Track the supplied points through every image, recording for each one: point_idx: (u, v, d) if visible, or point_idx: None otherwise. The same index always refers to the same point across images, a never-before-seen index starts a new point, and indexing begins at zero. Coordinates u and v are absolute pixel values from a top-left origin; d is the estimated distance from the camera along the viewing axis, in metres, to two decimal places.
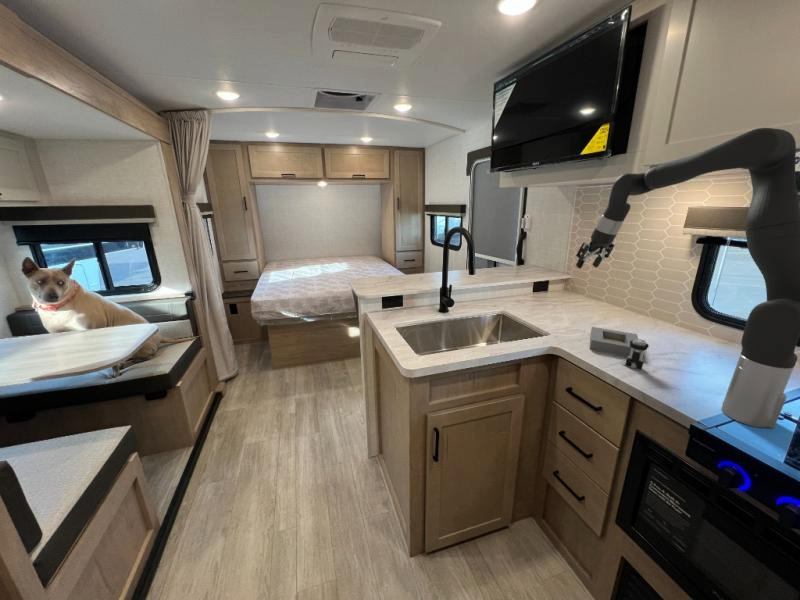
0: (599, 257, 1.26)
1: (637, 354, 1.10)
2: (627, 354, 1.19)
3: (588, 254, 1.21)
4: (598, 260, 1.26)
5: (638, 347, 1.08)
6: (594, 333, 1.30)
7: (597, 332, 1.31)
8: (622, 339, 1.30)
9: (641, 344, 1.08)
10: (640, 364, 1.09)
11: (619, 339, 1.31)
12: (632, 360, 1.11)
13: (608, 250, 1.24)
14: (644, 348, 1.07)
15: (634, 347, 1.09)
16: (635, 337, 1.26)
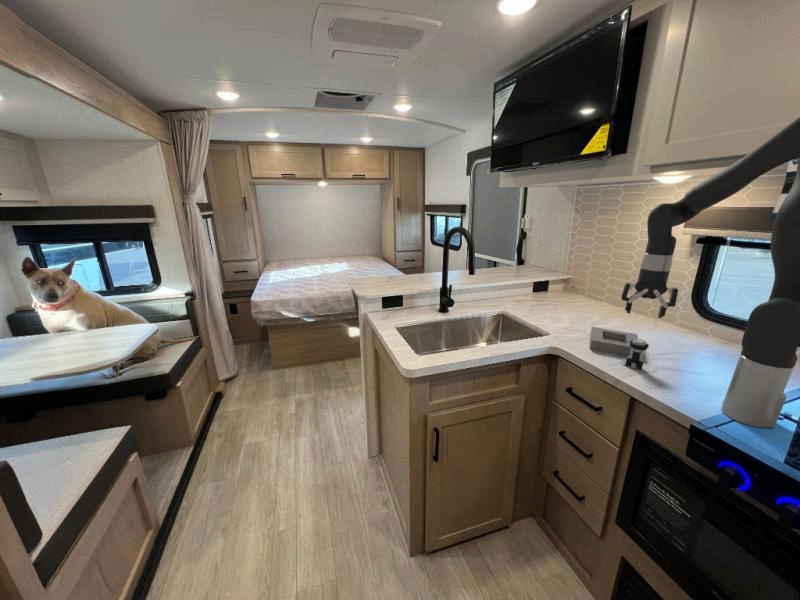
0: (662, 305, 1.04)
1: (637, 354, 1.10)
2: (627, 354, 1.19)
3: (634, 296, 1.06)
4: (660, 309, 1.04)
5: (638, 347, 1.08)
6: (594, 333, 1.30)
7: (597, 332, 1.31)
8: (622, 339, 1.30)
9: (641, 344, 1.08)
10: (640, 364, 1.09)
11: (619, 339, 1.31)
12: (632, 360, 1.11)
13: (671, 296, 1.01)
14: (644, 348, 1.07)
15: (634, 347, 1.09)
16: (635, 337, 1.26)
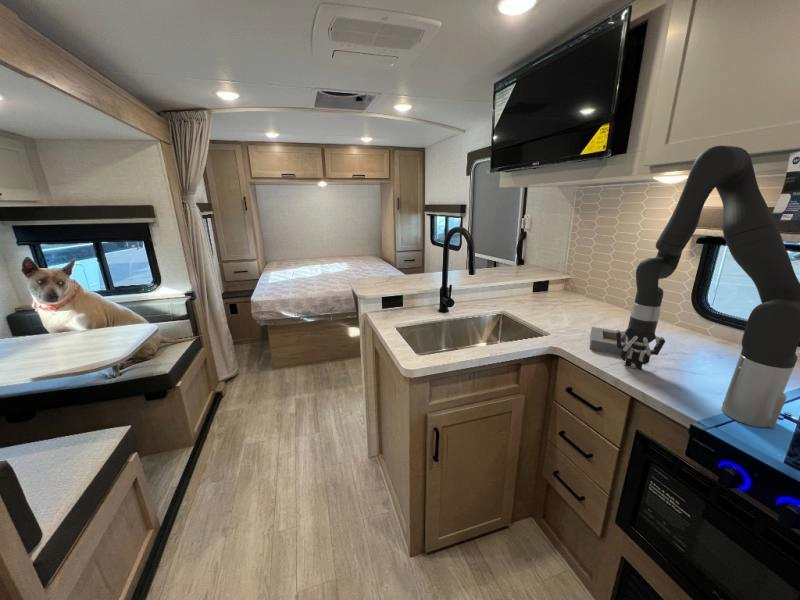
0: None
1: (637, 354, 1.10)
2: (627, 354, 1.19)
3: (627, 343, 1.10)
4: (644, 356, 1.09)
5: (638, 347, 1.08)
6: (594, 333, 1.30)
7: (597, 332, 1.31)
8: (622, 339, 1.30)
9: (641, 344, 1.08)
10: (640, 364, 1.09)
11: None
12: (632, 360, 1.11)
13: (657, 345, 1.06)
14: (644, 348, 1.07)
15: (634, 347, 1.09)
16: None
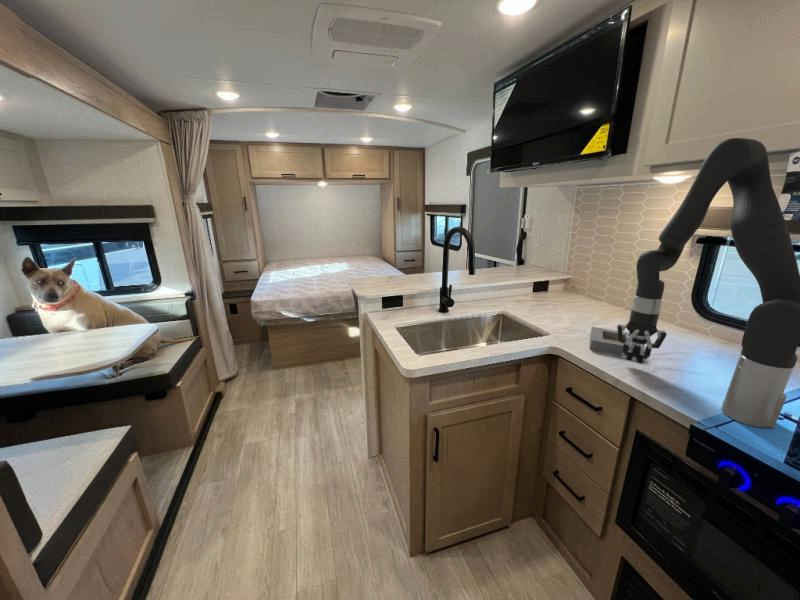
0: (647, 346, 1.08)
1: (637, 348, 1.09)
2: None
3: (628, 337, 1.10)
4: (645, 349, 1.08)
5: (638, 341, 1.07)
6: (594, 333, 1.30)
7: (597, 332, 1.31)
8: None
9: (641, 338, 1.07)
10: (641, 358, 1.09)
11: None
12: (633, 354, 1.10)
13: (658, 339, 1.06)
14: (644, 342, 1.07)
15: (634, 341, 1.08)
16: None
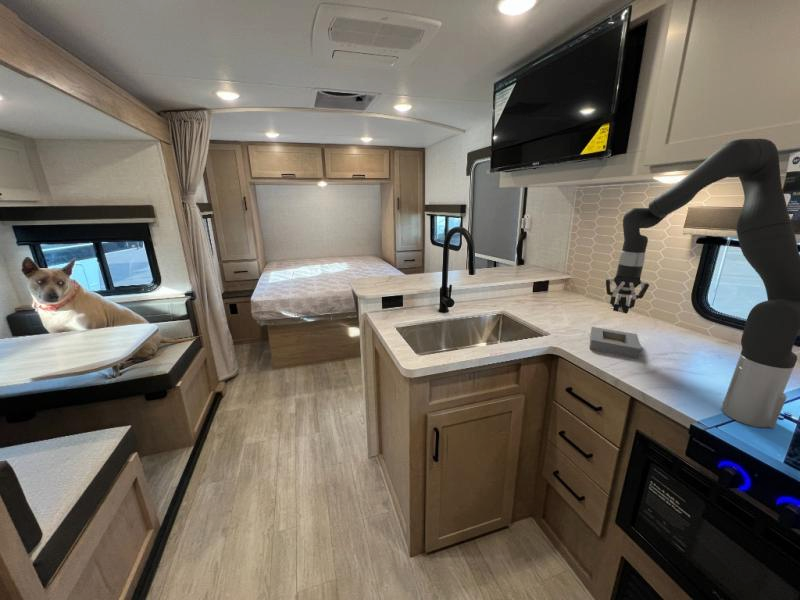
0: None
1: (623, 299, 1.21)
2: (627, 354, 1.19)
3: (615, 290, 1.22)
4: (630, 300, 1.21)
5: (624, 292, 1.19)
6: (594, 333, 1.30)
7: (597, 332, 1.31)
8: (622, 339, 1.30)
9: (627, 289, 1.19)
10: (626, 308, 1.21)
11: (619, 339, 1.31)
12: (619, 305, 1.22)
13: (642, 289, 1.18)
14: (629, 292, 1.19)
15: (620, 292, 1.20)
16: (635, 337, 1.26)
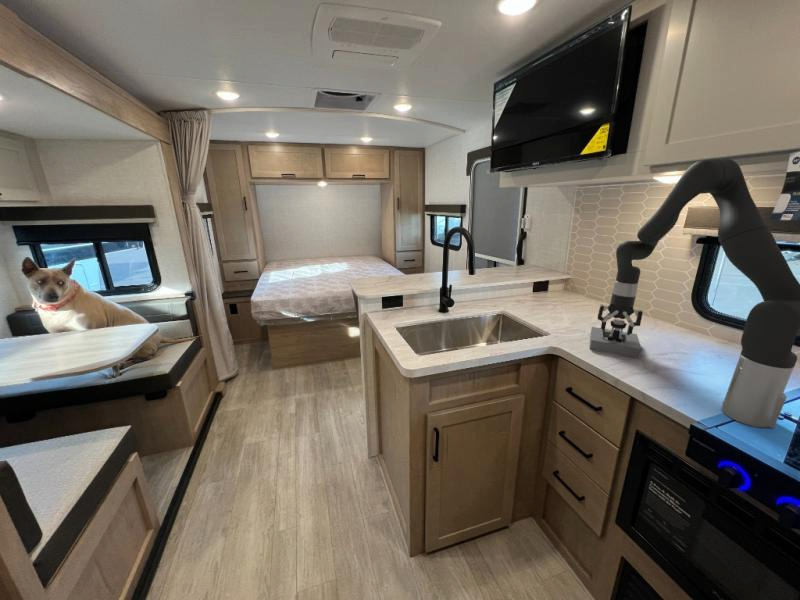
0: None
1: (617, 332, 1.25)
2: (627, 354, 1.19)
3: (607, 316, 1.25)
4: (628, 327, 1.23)
5: (617, 326, 1.23)
6: (594, 333, 1.30)
7: (597, 332, 1.31)
8: None
9: (620, 323, 1.23)
10: (619, 341, 1.25)
11: None
12: (612, 337, 1.26)
13: (637, 317, 1.21)
14: (622, 326, 1.23)
15: (614, 326, 1.24)
16: (635, 337, 1.26)
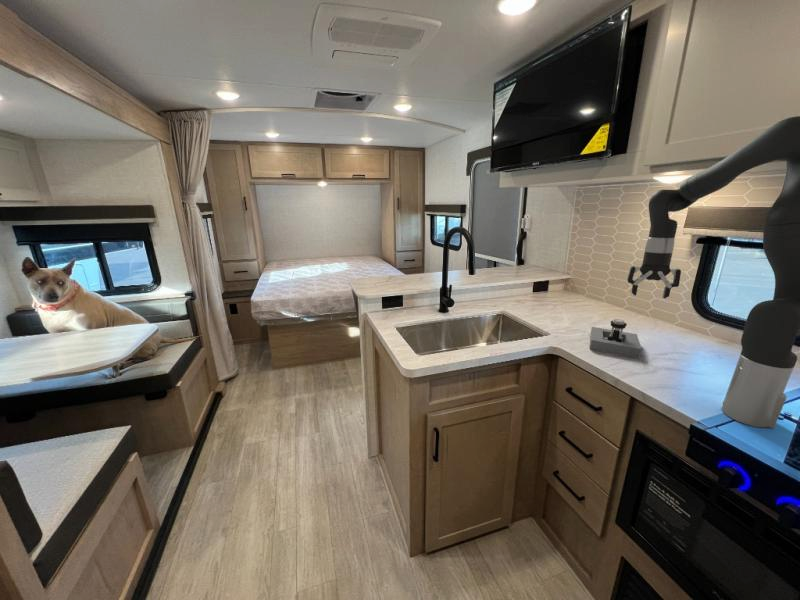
0: (666, 286, 1.10)
1: (617, 332, 1.25)
2: (627, 354, 1.19)
3: (639, 278, 1.12)
4: (665, 289, 1.10)
5: (617, 326, 1.23)
6: (594, 333, 1.30)
7: (597, 332, 1.31)
8: None
9: (620, 323, 1.23)
10: (619, 341, 1.25)
11: None
12: (612, 337, 1.26)
13: (675, 277, 1.07)
14: (622, 326, 1.23)
15: (614, 326, 1.24)
16: (635, 337, 1.26)
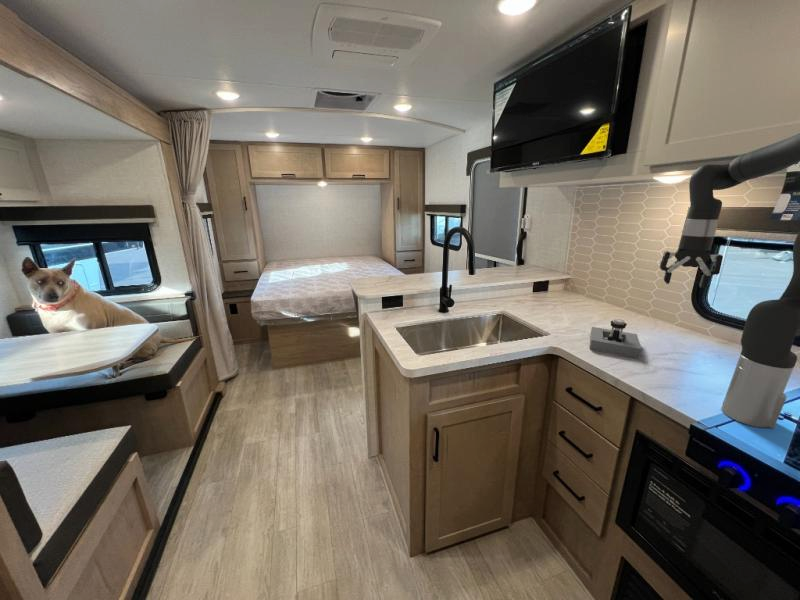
0: (704, 274, 0.99)
1: (617, 332, 1.25)
2: (627, 354, 1.19)
3: (674, 264, 1.02)
4: (702, 277, 0.99)
5: (617, 326, 1.23)
6: (594, 333, 1.30)
7: (597, 332, 1.31)
8: None
9: (620, 323, 1.23)
10: (619, 341, 1.25)
11: None
12: (612, 337, 1.26)
13: (715, 264, 0.97)
14: (622, 326, 1.23)
15: (614, 326, 1.24)
16: (635, 337, 1.26)
